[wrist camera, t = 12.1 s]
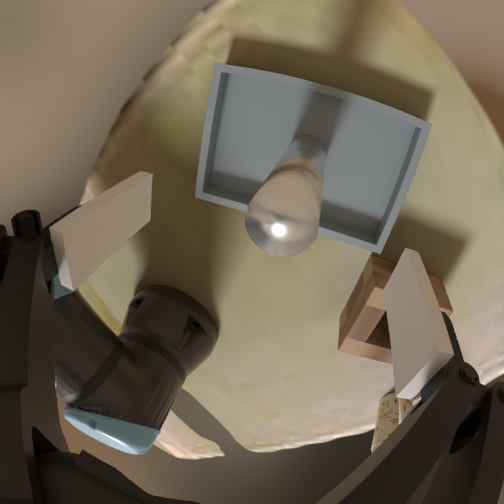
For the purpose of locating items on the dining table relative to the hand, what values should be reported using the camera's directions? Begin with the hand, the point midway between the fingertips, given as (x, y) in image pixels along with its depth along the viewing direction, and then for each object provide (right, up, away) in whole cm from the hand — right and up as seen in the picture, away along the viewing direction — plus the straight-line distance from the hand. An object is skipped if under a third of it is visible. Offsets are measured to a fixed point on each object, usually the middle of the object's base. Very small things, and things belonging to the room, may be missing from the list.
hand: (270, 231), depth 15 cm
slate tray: (+5, +9, +14) cm, 17 cm away
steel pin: (+4, +8, +13) cm, 16 cm away
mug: (+24, -26, +30) cm, 46 cm away
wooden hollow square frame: (+16, -7, +20) cm, 27 cm away
